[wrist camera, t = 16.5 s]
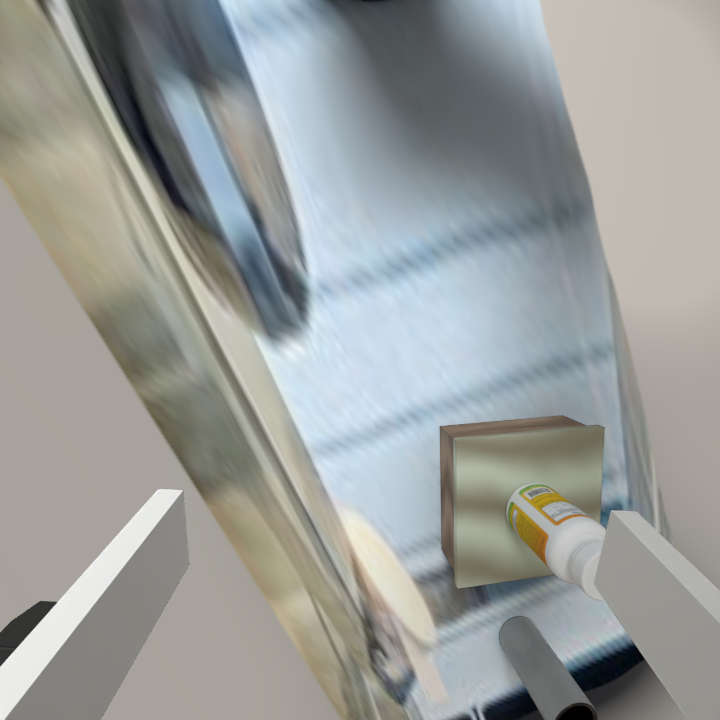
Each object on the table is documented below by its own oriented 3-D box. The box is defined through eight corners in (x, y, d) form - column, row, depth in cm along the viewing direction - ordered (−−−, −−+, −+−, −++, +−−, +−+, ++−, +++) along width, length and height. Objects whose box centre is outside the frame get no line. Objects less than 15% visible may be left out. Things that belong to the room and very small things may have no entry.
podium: (436, 422, 41) (456, 440, 36) (566, 411, 43) (604, 427, 37) (438, 552, 43) (457, 588, 38) (562, 536, 45) (597, 568, 40)
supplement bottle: (532, 543, 38) (608, 623, 29) (493, 515, 37) (558, 587, 28) (567, 500, 38) (655, 565, 28) (528, 470, 37) (606, 527, 27)
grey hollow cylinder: (533, 647, 47) (597, 741, 37) (497, 652, 46) (552, 750, 36) (535, 613, 46) (599, 699, 36) (498, 618, 45) (554, 707, 35)
